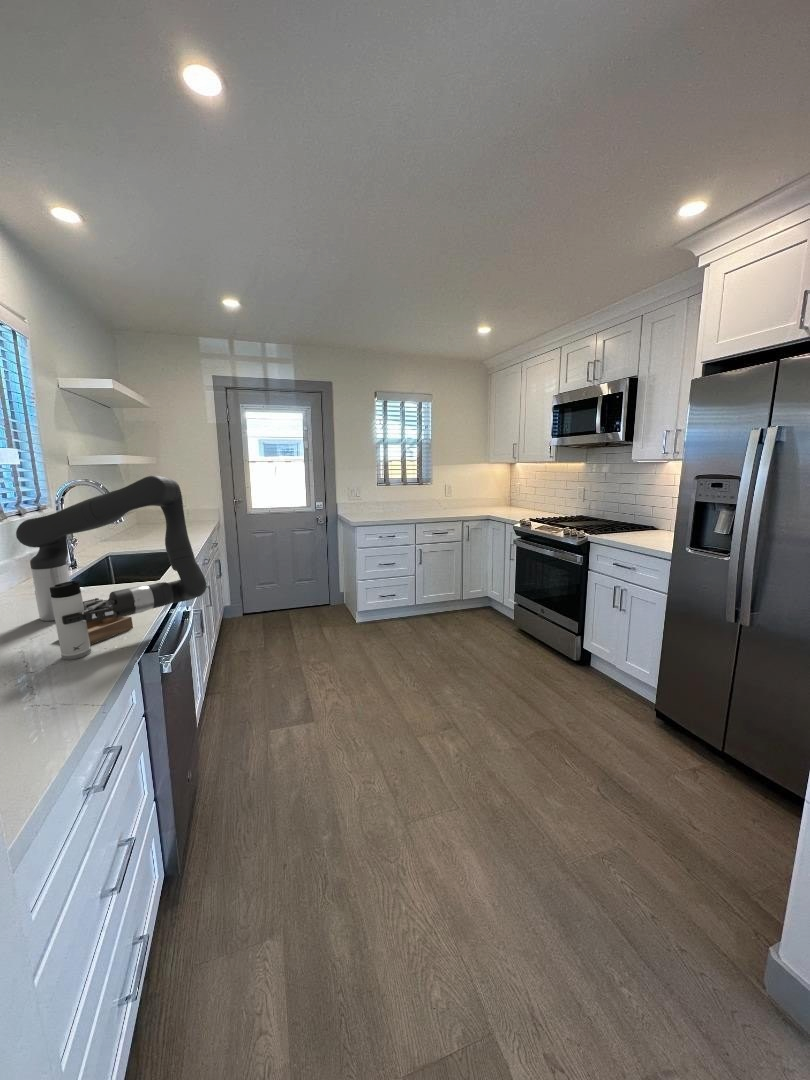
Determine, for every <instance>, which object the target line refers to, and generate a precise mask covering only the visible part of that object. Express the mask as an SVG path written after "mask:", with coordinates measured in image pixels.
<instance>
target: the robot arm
mask: <svg viewBox="0 0 810 1080" xmlns="http://www.w3.org/2000/svg"><path fill="white" fill-rule="evenodd" d="M183 503H184V502H183V495H182V491H181V487H180V485H179V483H178V482H177V481H176V480H175V479H172V478H170V477H164V476H160V475H148V476H145V477H143V478H141V479H139V480H136V481H134V482H132V483H130V484H128V485H127V486H125V487H121V488H118V489H116V490H111V491H109V492H106V493H103V494H100V495H97V496H94V497H90V498H87V499H85V500H82V501H79V502H77V503H76V504H72V505H70V506H67V507H66V508H63V509H60V510H59V511H57V512H54V513H51V514H47V515H42V516H40V517H33V518H29V519H26V520H24V521H22V522H21V523H20V524H19V525H18V527H17V528H16V532H15V536H16V539H17V540H18V542H19V543H20V544H22V545H23V546H26V547H29V548H39V549H38V552H37V553H36V554H35V555H34V557H32V558H31V559H30V561H29V565H30V569H31V576H32V579H33V587H34V595H35V600H36V607H37V611H38V617H39V618H40V621H42V622H43V621H45V622H49V621H55V617H54V611H53V606H52V601H51V600H52V599H51V593H50V587H54V586H55V585H57V584H61V583H65V582H69V581H71V580H70V573H69V568H68V563H67V561H68V560H67V558H68V555H69V550H68V548H69V547H68V539H67V535H72V534H77V533H78V534H79V533H81V532H82V533H83V532H86V531H91V530H95V529H99V528H101V527H102V528H103V527H105V526H108V525H111V524H113V523H116V522H117V521H119V520H121V519H122V517H124V516H125V515H126V514H127V513H129V512H131V511H133V510H136V509H140V508H144V507H151V506H155V507H160V509H161V510H162V513H163V515H164V518H165V535H164V546H165V551H166V554H167V556H168V561H169V564H170V567H171V568H172V570H173V571H176V572H177V574H178V576H179V579H178V580H174V581H169V582H166V581H165V582H157V583H156V582H155V583H151V584H146V585H139V586H138V585H137V586H133V587H129V588H123V589H118V590H114V591H111V592H110V593H109V595H108V596H109V598H108V599H104V600H103V599H101V598H99V597H95V598H92V599H89V600H83V606H84V611H82V612H78V613H74V614H69V615H65V616H62V622H63V624H64V625H66V624H70V623H75V622H79V621H81V620H82V621H87V622H92V621H97V620H102V619H106V618H112V617H114V616H115V617H116V618H121V617H125V616H128V617H130V616H133V615H135V614H140V613H144V612H147V611H149V610H153V609H157V608H160V607H164V606H167V605H170V604H177V603H182V602H186V601H191V600H194V599H195V598H199V597H201V596H203V594H204V593H206V590H207V581H206V578H205V575H204V573H203V571H202V569H201V568H200V566H199V565H198V563H197V561H196V557H195V554H194V551H193V548H192V545H191V541H190V538H189V535H188V529H187V525H186V517H185V512H184V510H185V509H184V504H183ZM80 613H81V614H80ZM95 615H96V616H95Z"/></svg>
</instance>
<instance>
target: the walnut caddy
mask: <svg viewBox="0 0 810 1080" xmlns="http://www.w3.org/2000/svg"><path fill="white" fill-rule="evenodd" d="M95 616H96V615H95ZM86 623H87V629H88V635H89V641H90V644H91V645H93V644H95V642H96V643H98V642H101V641H103V639H104V640H106V639H109V638H111V637H114V636H116V635H119V634H122V633H124V632H126V631H129V630H132V629H133V628H134V625H133V618H132V616H125V617H121V618H116V617H115V616H114V617H112V618H106V619H102V620H97V621H92V622H87V621H86ZM131 628H132V629H131ZM118 633H119V634H118ZM113 635H114V636H113ZM108 637H109V638H108ZM100 640H101V641H100ZM97 641H98V642H97ZM92 643H93V644H92Z"/></svg>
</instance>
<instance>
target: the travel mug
mask: <svg viewBox="0 0 810 1080" xmlns="http://www.w3.org/2000/svg"><path fill="white" fill-rule="evenodd" d="M80 584H81V580H80V579H79V580H77V579H75V580H70V581H69V582H65V583H61V584H57V585H55V586H54V587H50V593H51V599H52V600H51V601H52V606H53V611H54V617H55V620H54V622H55V628H56V631H57V632H56V633H57V638H58V643H59V648H60V649H59V650H60V654H61V658H62V659H63V660H67V661H71V660H76V659H80V658H83V657H86V656H88V655H90V653H91V652H92V648H91V645H90V641H89V635H88V629H87V623H86V621H82V620H81V621H79V622H75V623H70V624H66V625H64V624H63V622H62V616H65V615H69V614H74V613H78V612H82V611H84V606H83V601H84V600H83V596H82V591H81V585H80ZM80 614H81V613H80Z"/></svg>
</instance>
